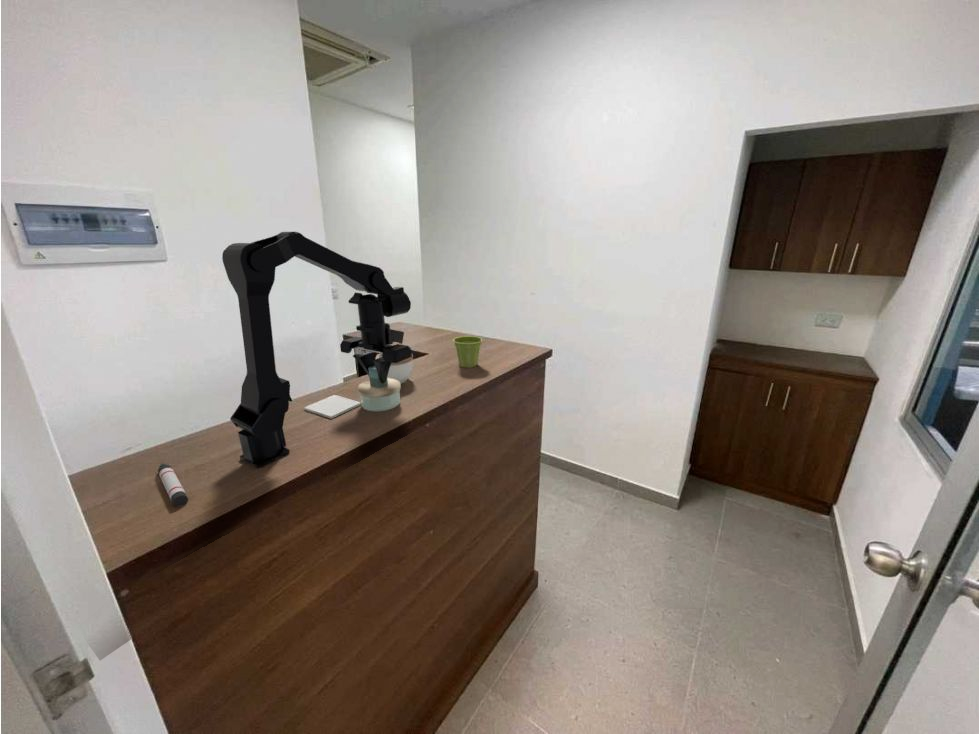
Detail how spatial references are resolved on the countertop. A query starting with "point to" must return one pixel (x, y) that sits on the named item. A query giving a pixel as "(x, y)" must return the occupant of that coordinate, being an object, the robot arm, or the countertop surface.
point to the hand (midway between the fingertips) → (378, 381)
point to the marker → (172, 485)
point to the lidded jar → (400, 369)
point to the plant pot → (468, 350)
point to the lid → (378, 385)
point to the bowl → (380, 402)
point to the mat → (332, 406)
